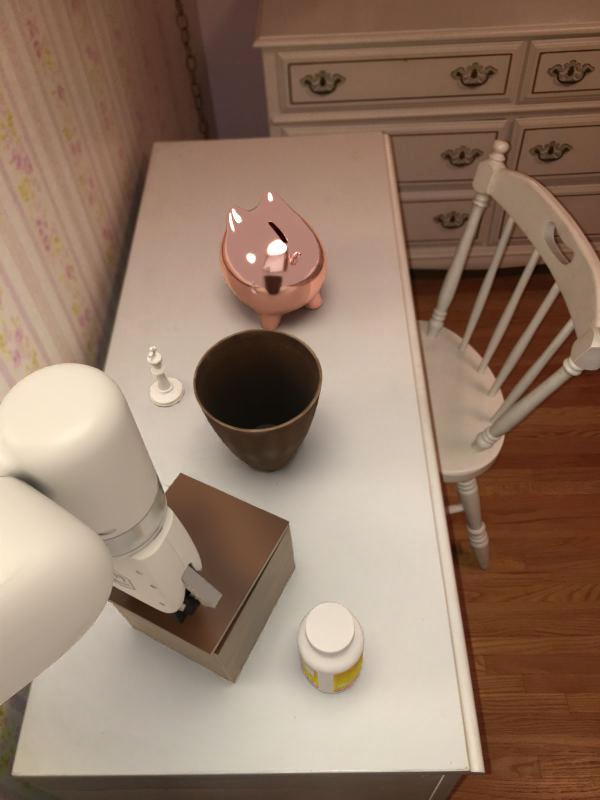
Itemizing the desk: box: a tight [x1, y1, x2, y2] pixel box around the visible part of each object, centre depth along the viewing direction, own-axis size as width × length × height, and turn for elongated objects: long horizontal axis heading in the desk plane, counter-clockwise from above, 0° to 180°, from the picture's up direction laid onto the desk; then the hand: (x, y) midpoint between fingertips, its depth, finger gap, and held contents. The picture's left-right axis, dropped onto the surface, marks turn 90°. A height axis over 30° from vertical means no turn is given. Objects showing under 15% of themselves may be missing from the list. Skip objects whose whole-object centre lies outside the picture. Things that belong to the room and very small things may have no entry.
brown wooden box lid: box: [107, 472, 290, 657], centre depth 63 cm, size 15×14×5 cm
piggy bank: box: [218, 189, 328, 330], centre depth 98 cm, size 15×18×16 cm
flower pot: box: [192, 328, 323, 473], centre depth 81 cm, size 15×15×16 cm
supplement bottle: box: [296, 601, 365, 694], centre depth 66 cm, size 7×7×13 cm
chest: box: [112, 524, 296, 684], centre depth 71 cm, size 15×14×12 cm
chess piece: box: [146, 345, 185, 408], centre depth 89 cm, size 5×5×10 cm
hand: (162, 593), depth 61 cm, fingers closed on brown wooden box lid, 5 cm apart
